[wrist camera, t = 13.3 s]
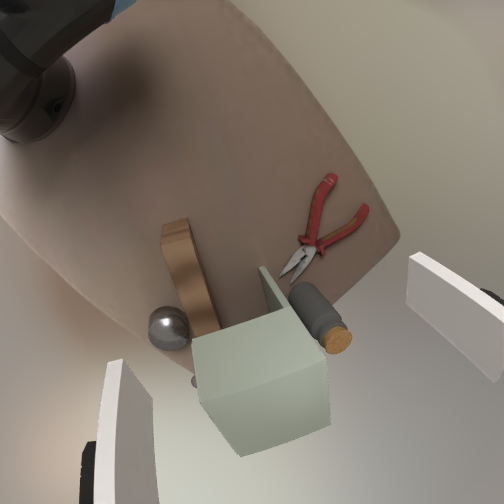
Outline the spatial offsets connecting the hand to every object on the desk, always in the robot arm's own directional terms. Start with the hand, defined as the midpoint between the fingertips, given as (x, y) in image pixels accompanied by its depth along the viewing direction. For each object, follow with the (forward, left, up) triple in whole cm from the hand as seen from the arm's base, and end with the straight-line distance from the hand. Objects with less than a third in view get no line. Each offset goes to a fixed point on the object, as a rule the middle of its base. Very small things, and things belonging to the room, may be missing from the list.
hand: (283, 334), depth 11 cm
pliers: (+12, +17, -36) cm, 41 cm away
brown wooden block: (+15, -6, -35) cm, 38 cm away
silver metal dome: (+21, -13, -35) cm, 43 cm away
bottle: (+25, +12, -35) cm, 45 cm away
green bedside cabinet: (+24, -1, -35) cm, 42 cm away
